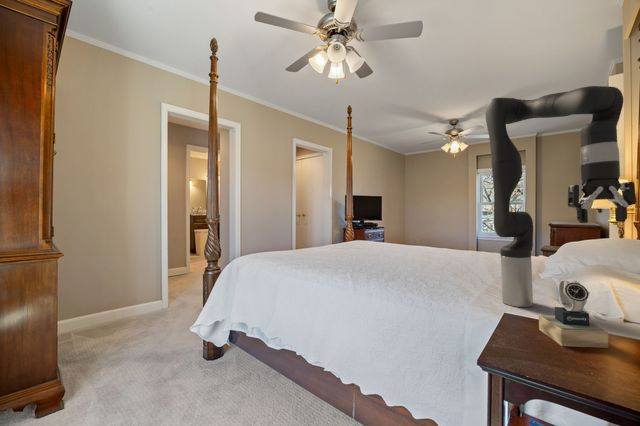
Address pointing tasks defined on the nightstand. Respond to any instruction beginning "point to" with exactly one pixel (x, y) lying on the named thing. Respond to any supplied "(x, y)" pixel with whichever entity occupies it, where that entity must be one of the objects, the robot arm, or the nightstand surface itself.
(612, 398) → the nightstand surface
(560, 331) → the oak riser
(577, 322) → the watch
